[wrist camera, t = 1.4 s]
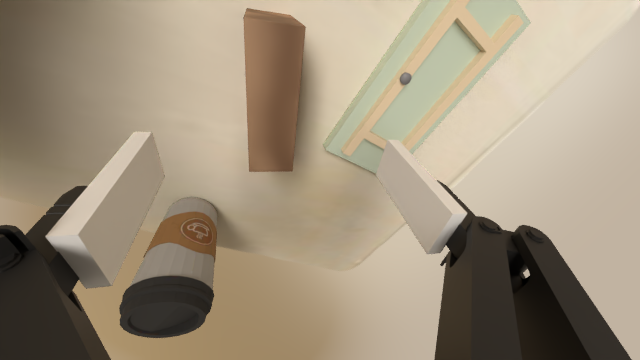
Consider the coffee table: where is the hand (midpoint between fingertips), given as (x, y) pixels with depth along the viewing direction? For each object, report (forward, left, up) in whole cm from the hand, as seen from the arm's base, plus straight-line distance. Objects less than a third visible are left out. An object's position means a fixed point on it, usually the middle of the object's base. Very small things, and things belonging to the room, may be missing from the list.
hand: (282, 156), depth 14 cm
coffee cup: (-1, -22, -16) cm, 27 cm away
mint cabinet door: (+16, +8, -16) cm, 24 cm away
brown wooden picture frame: (0, 0, -16) cm, 16 cm away
